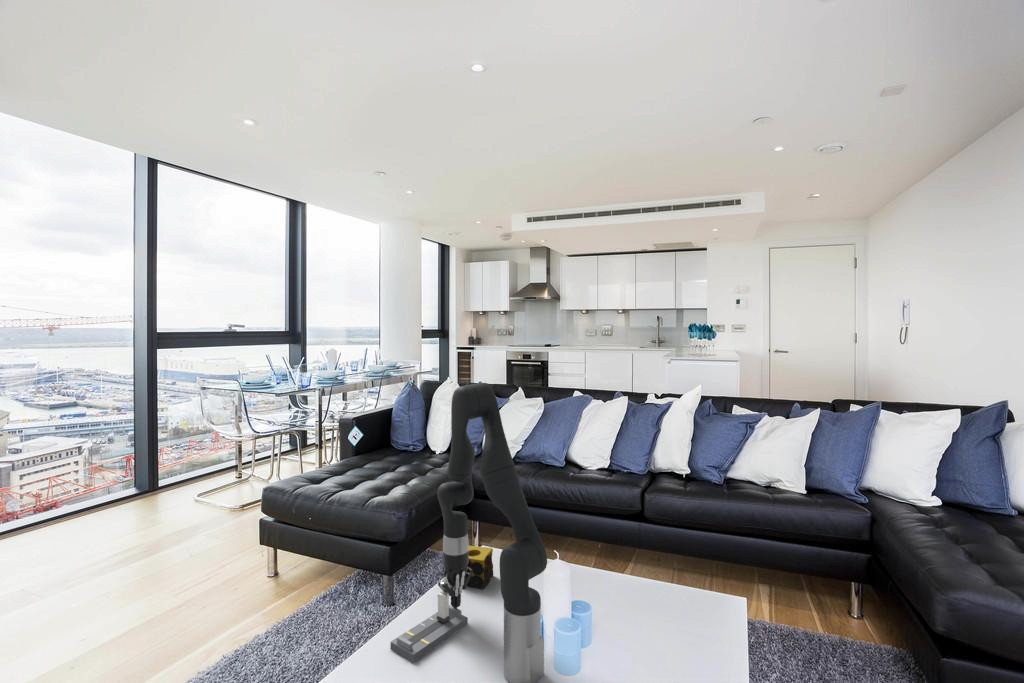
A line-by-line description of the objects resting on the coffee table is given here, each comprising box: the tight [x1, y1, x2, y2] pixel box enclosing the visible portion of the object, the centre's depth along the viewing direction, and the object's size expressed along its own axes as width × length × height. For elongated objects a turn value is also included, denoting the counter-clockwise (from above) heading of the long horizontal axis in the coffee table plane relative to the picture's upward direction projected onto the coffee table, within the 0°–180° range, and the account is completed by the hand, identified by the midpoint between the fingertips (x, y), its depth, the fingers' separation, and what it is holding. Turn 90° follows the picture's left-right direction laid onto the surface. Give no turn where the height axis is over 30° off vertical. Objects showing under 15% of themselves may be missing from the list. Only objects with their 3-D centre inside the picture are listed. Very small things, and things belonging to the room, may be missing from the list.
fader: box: [437, 590, 450, 623], centre depth 145 cm, size 3×2×8 cm
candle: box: [464, 545, 494, 590], centre depth 172 cm, size 10×10×10 cm
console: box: [390, 604, 469, 663], centre depth 141 cm, size 9×21×4 cm, turn 143°
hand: (455, 606), depth 149 cm, fingers closed
